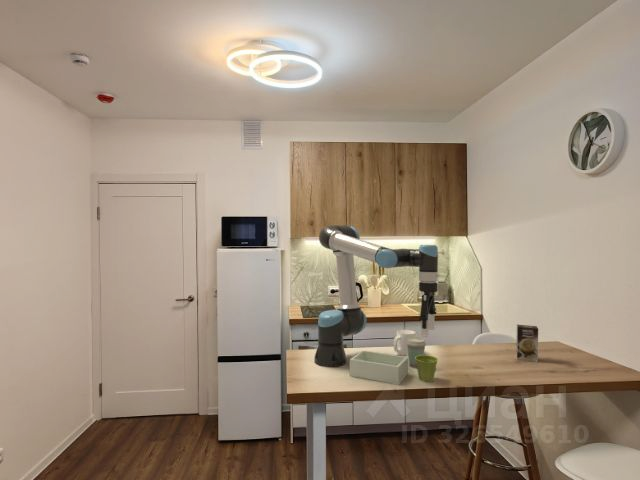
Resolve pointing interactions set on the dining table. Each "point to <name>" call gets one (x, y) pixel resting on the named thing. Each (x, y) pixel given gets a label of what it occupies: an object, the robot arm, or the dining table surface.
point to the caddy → (379, 367)
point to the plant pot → (426, 367)
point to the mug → (403, 341)
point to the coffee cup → (415, 350)
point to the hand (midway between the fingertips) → (427, 333)
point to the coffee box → (527, 343)
